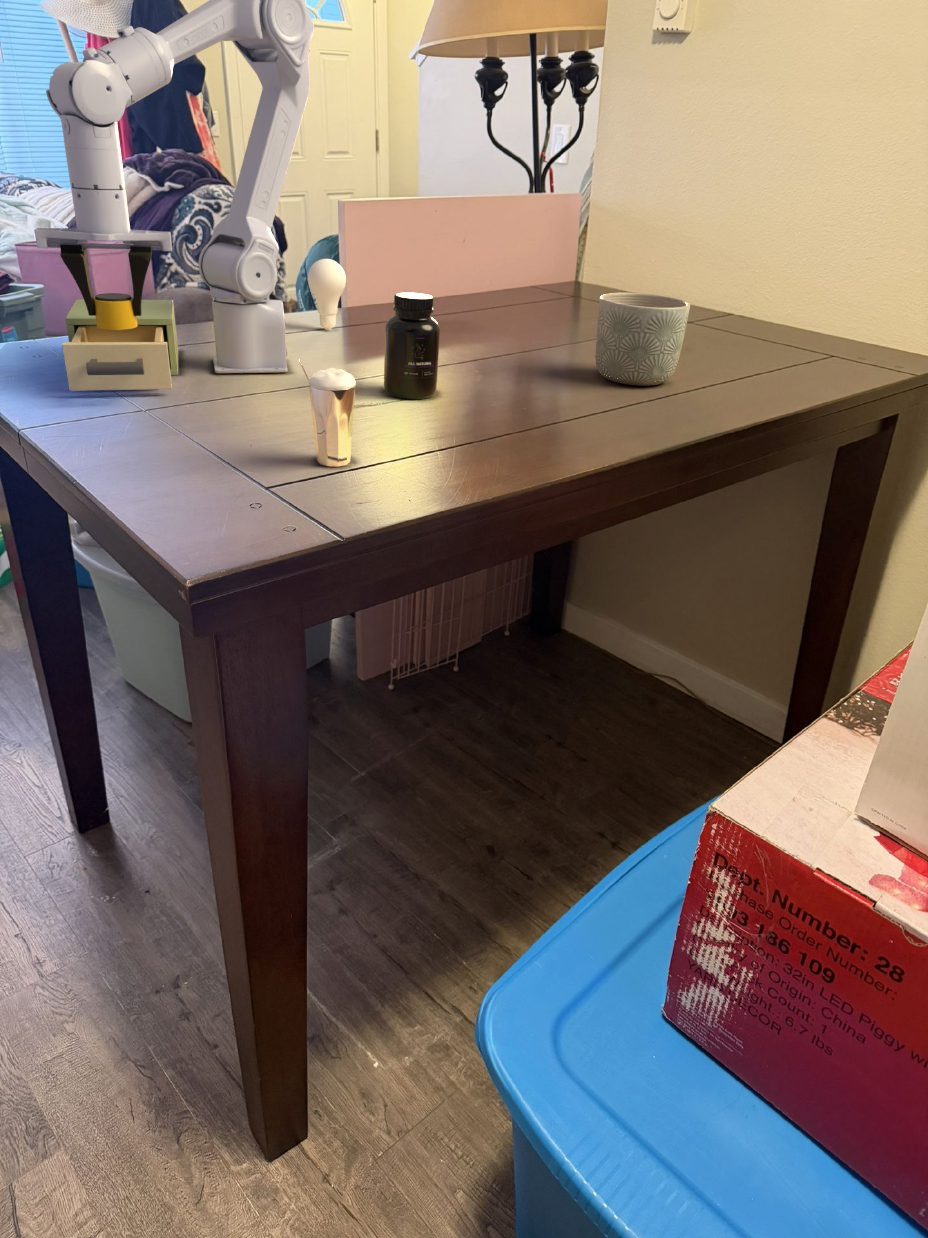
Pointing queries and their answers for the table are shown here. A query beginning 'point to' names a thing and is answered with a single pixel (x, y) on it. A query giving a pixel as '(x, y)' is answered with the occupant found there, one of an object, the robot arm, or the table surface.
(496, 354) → the table surface
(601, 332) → the planter
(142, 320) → the cabinet
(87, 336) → the drawer
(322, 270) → the lightbulb
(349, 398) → the milkshake
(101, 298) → the cap
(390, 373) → the supplement bottle
